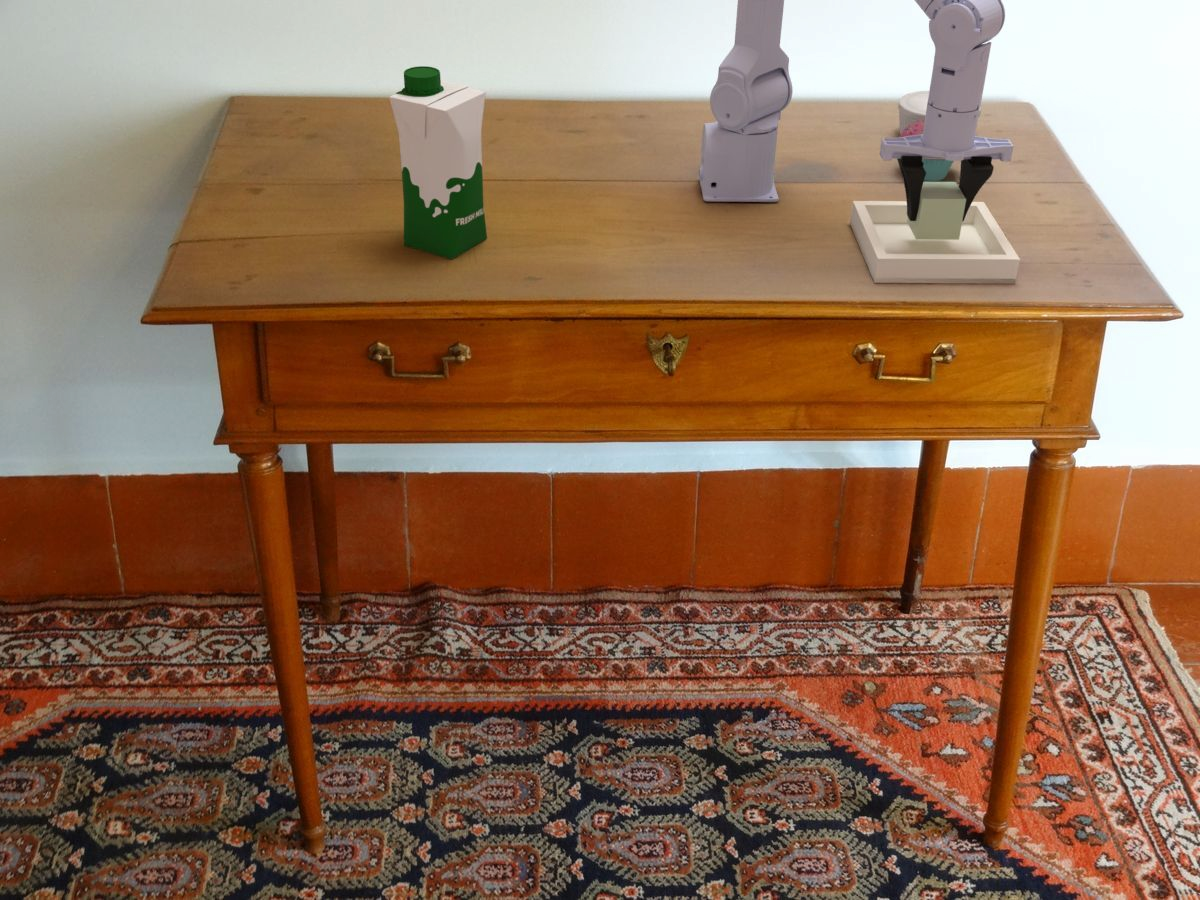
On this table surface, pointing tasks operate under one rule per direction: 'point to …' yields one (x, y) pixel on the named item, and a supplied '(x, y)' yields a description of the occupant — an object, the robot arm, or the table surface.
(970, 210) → the cream bin
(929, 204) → the sage block
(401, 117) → the milk carton
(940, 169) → the cupcake
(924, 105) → the ramekin
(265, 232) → the table surface
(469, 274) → the table surface
